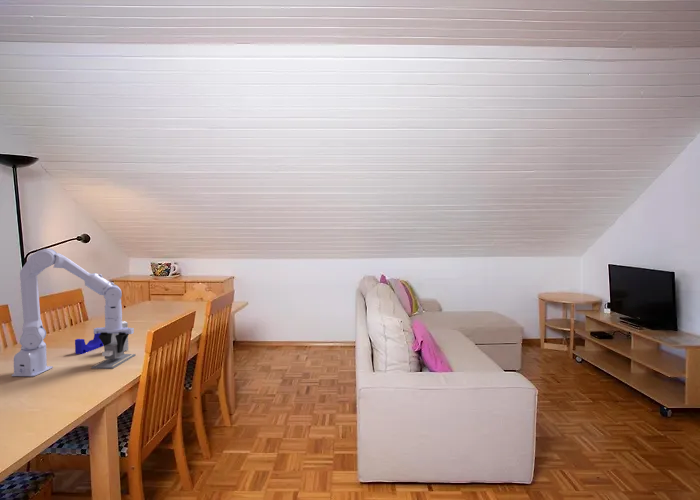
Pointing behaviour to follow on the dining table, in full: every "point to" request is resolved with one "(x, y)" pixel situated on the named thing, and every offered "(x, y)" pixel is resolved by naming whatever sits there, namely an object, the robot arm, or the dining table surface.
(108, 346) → the plug
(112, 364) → the felt mat
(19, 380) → the dining table surface
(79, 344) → the blue notched bracket
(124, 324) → the skincare box
